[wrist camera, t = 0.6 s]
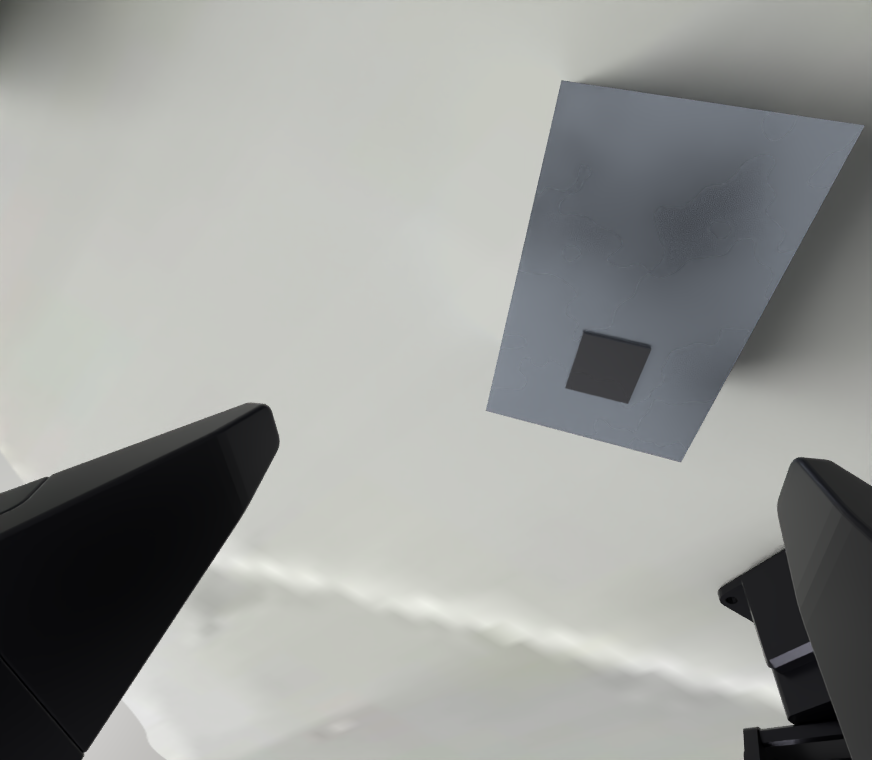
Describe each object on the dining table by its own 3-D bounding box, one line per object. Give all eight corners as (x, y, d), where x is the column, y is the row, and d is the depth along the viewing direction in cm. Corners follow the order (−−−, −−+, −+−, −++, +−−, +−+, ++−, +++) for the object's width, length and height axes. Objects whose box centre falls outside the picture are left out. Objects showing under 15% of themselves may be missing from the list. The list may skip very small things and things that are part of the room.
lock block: (774, 115, 14) (868, 125, 9) (658, 373, 19) (681, 465, 14) (569, 84, 15) (561, 80, 10) (509, 337, 20) (484, 413, 15)
